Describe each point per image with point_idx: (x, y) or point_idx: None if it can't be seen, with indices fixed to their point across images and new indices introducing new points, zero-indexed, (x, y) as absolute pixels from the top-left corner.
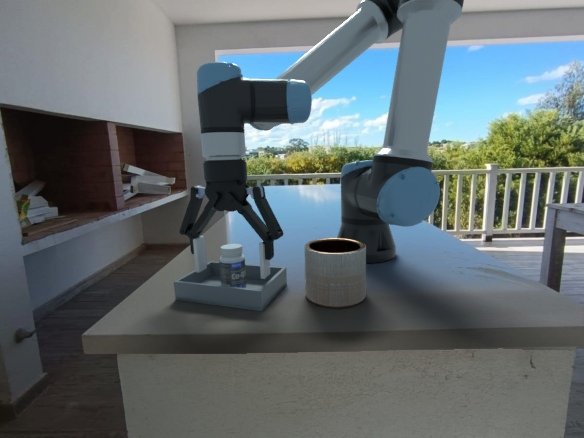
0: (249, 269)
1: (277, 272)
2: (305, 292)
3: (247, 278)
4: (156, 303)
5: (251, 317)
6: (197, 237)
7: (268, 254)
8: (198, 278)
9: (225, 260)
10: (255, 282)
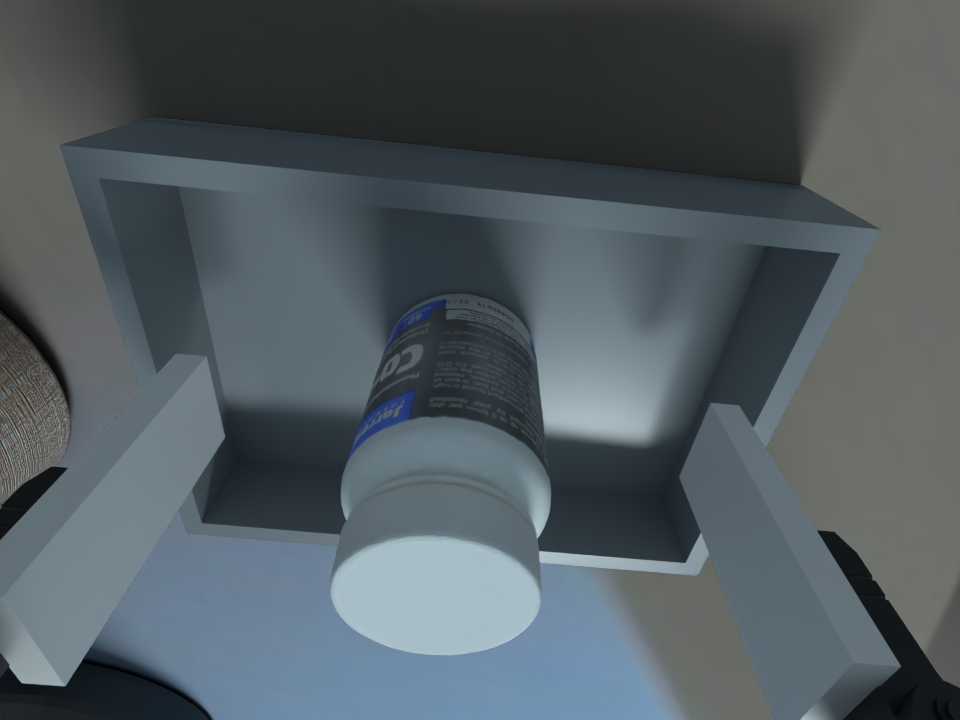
0: None
1: (246, 502)
2: (8, 340)
3: None
4: (933, 110)
5: (164, 10)
6: (853, 710)
7: (31, 506)
8: None
9: (456, 438)
10: None
